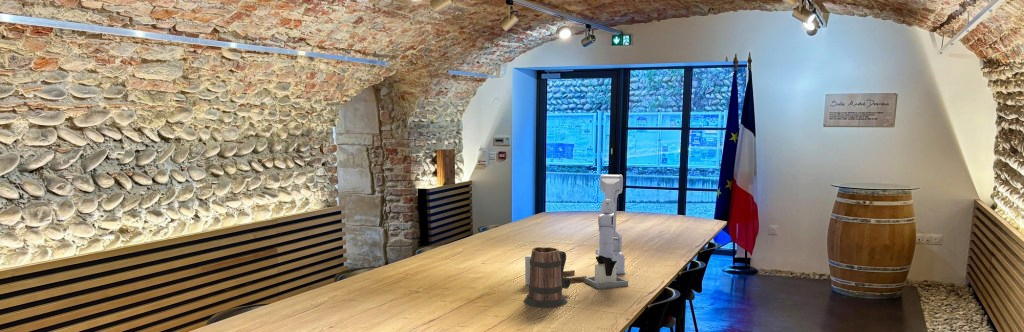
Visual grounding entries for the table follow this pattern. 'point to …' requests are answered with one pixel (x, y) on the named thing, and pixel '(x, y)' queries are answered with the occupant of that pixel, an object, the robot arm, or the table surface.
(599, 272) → the beige rectangular block
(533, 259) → the tankard
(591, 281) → the grey tray
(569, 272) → the walnut dock
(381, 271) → the table surface
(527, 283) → the skincare box
